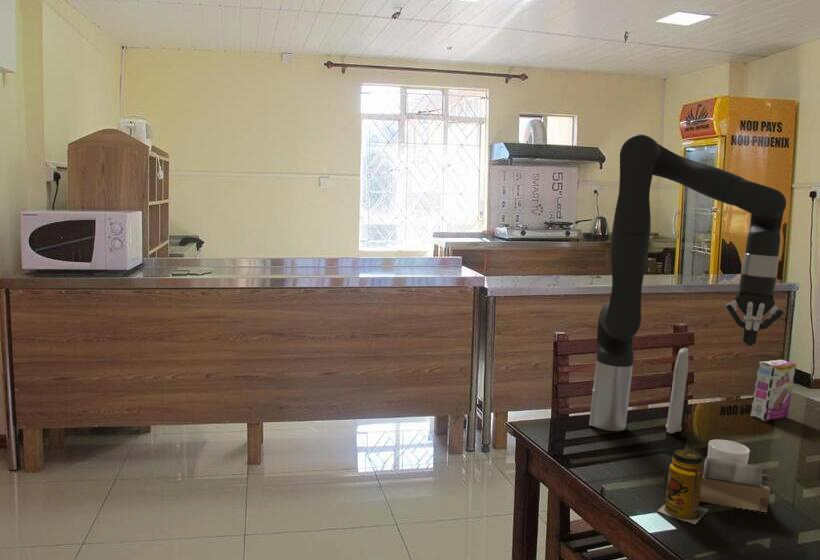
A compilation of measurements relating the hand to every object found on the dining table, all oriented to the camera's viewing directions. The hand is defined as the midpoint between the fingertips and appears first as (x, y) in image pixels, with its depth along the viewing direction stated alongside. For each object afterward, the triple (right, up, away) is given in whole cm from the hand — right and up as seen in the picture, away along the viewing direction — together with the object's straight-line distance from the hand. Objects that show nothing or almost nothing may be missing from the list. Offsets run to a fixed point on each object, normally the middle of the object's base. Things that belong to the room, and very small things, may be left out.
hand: (748, 344), depth 165 cm
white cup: (-15, -29, -20) cm, 38 cm away
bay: (-15, -29, -19) cm, 38 cm away
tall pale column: (-11, -24, +18) cm, 32 cm away
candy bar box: (+23, -24, +34) cm, 48 cm away
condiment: (-28, -30, -30) cm, 51 cm away
